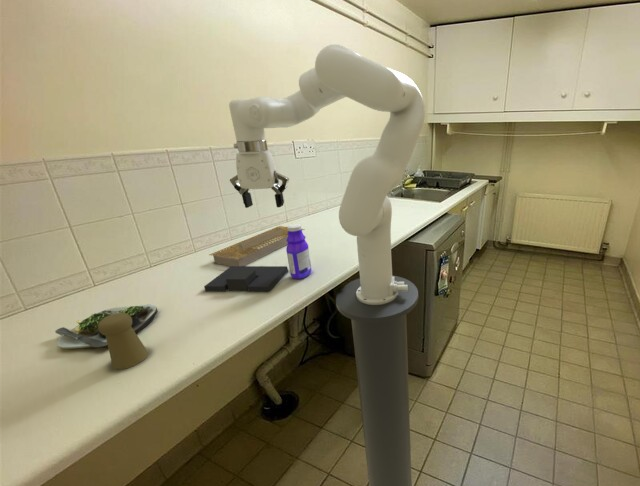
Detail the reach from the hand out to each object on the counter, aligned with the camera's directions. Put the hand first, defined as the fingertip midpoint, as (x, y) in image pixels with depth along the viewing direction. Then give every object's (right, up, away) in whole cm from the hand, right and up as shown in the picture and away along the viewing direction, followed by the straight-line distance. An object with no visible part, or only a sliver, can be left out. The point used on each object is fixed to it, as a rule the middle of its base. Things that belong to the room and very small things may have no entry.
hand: (264, 206), depth 94 cm
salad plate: (-31, -33, -15) cm, 48 cm away
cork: (-17, -37, -26) cm, 48 cm away
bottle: (+8, -22, +10) cm, 26 cm away
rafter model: (-16, -14, +33) cm, 39 cm away
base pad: (-9, -23, +7) cm, 26 cm away
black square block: (-9, -25, +4) cm, 26 cm away
